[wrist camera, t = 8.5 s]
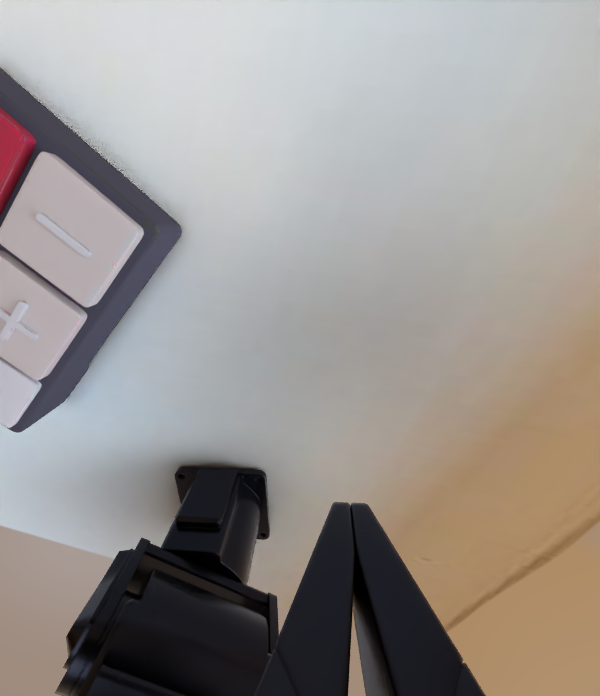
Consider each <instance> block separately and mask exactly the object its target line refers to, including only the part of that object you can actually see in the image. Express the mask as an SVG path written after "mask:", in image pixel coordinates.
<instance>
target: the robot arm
mask: <svg viewBox="0 0 600 696" xmlns="http://www.w3.org/2000/svg"><path fill="white" fill-rule="evenodd" d="M182 474H184V475H182ZM257 477H260V478H257ZM175 479H176V484H177V488H178V493H179V498H180V502H181V506H180V508H179V510H178V512H177V514H176V516H175V519H174V521H173V523H172V525H171V527H170V529H169V531H168V534H167V536H166V538H165V540H164V542H163V544H162V546H161V548H160V547H158V546H156V545H153V544H151V543H150V541H149V540H147V539H144V538H141V540H140V542H139V543H138V545H137V547H136V549H135V550H133V549H131V550H126V551H119V553H118V554H117V556H116V558H115V559H114V561H113V563H112V564H111V566H110V568H109V569H108V571H107V573H106V575H105V576H104V578H103V579H102V581H101V582H100V584H99V586H98V587H97V589H96V590H95V592H94V594H93V595H92V597H91V598H90V600H89V601H88V603H87V604H86V606H85V607H84V609H83V610H82V612H81V614H80V615H79V617H78V618H77V620H76V621H75V623H74V624H73V626H72V628H71V629H70V631H69V633H68V635H67V636H66V640H67V649H68V657H69V658H68V659H67V661H66V663H65V665H64V667H63V668H65V669H67V672H66V674H65V676H64V677H63V679H62V681H61V683H60V685H59V686H58V688H57V690H56V692H55V694H58V695H61V696H348V682H349V664H350V663H349V662H350V645H351V644H350V643H351V627H352V608H353V612H354V620H355V627H356V633H357V640H358V646H359V653H360V660H361V666H362V673H363V679H364V686H365V693H366V696H486V695H485V694H484V692H483V690H482V689H481V687H480V686H479V684H478V682H477V681H476V679H475V677H474V676H473V674H472V673H471V671H470V669H469V668H468V666H467V665H466V664H465V663H462V662H463V659H462V657H461V655H460V653H459V652H458V650H457V649H456V647H455V645H454V644H453V642H452V640H451V639H450V637H449V636H448V634H447V632H446V631H445V629H444V627H443V626H442V624H441V623H440V621H439V619H438V618H437V616H436V614H435V613H434V611H433V610H432V608H431V606H430V605H429V603H428V601H427V600H426V598H425V597H424V595H423V593H422V592H421V590H420V588H419V587H418V585H417V584H416V582H415V580H414V579H413V577H412V575H411V574H410V572H409V571H408V569H407V567H406V566H405V564H404V562H403V561H402V559H401V558H400V556H399V554H398V553H397V551H396V549H395V548H394V546H393V545H392V543H391V541H390V540H389V538H388V536H387V535H386V533H385V532H384V530H383V528H382V527H381V525H380V523H379V522H378V520H377V519H376V517H375V515H374V514H373V512H372V510H371V509H370V507H369V506H368V505H367V504H365V503H352V504H351V505H350V504H349V503H344V502H334V503H333V504H332V506H331V509H330V511H329V514H328V516H327V519H326V521H325V524H324V526H323V529H322V531H321V534H320V536H319V538H318V541H317V543H316V546H315V548H314V551H313V553H312V556H311V558H310V561H309V563H308V566H307V568H306V571H305V573H304V576H303V578H302V580H301V583H300V585H299V588H298V590H297V593H296V595H295V598H294V600H293V603H292V605H291V608H290V610H289V613H288V615H287V617H286V620H285V623H284V625H283V627H282V630H281V632H280V635H279V631H278V608H277V596H275V595H273V594H270V593H267V594H266V593H264V592H261V591H259V590H257V589H254V588H252V587H250V586H248V585H247V582H248V577H249V572H250V568H251V563H252V558H253V553H254V548H255V544H256V539H267V538H268V537H269V534H270V521H269V507H268V494H267V480H266V474H265V472H263V471H262V470H247V469H222V468H197V467H180V468H178V470H177V472H176V473H175Z"/></svg>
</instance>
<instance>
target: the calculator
mask: <svg viewBox="0 0 600 696" xmlns="http://www.w3.org/2000/svg"><path fill="white" fill-rule="evenodd" d="M180 235H181V227H180V225H179V224H178V223H177V222H176V221H175V220H174V219H173V218H171V217H170V216H169V215H168V214H167V213H166V212H165V211H163V210H162V209H161V208H160V207H159V206H158V205H156V204H155V203H154V202H153V201H152V200H151V199H150V198H148V197H147V196H146V195H145V194H144V193H143V192H142V191H140V190H139V189H138V188H137V187H136V186H135V185H134V184H132V183H131V182H130V181H129V180H128V179H127V178H126V177H124V176H123V175H122V174H121V173H120V172H119V171H118V170H116V169H115V168H114V167H113V166H112V165H111V164H109V163H108V162H107V161H106V160H105V159H104V158H103V157H101V156H100V155H99V154H98V153H97V152H96V151H95V150H93V149H92V148H91V147H90V146H89V145H88V144H87V143H85V142H84V141H83V140H82V139H81V138H80V137H79V136H77V135H76V134H75V133H74V132H73V131H72V130H71V129H69V128H68V127H67V126H66V125H65V124H64V123H62V122H61V121H60V120H59V119H58V118H57V117H56V116H54V115H53V114H52V113H51V112H50V111H49V110H48V109H46V108H45V107H44V106H43V105H42V104H41V103H40V102H38V101H37V100H36V99H35V98H34V97H33V96H32V95H30V94H29V93H28V92H27V91H26V90H25V89H24V88H22V87H21V86H20V85H19V84H18V83H17V82H15V81H14V80H13V79H12V78H11V77H10V76H9V75H7V74H6V73H5V72H4V71H3V70H2V69H1V68H0V424H1V425H3V426H5V427H7V428H8V429H10V430H12V431H14V432H22V431H24V430H25V429H26V428H28V427H29V426H31V425H32V424H34V423H35V422H36V421H38V420H39V419H41V418H42V417H43V416H45V415H46V414H48V413H49V412H50V411H52V410H53V409H55V408H56V407H57V406H59V405H60V404H61V403H63V402H64V401H65V399H66V398H67V397H68V395H69V394H70V393H71V391H72V390H73V389H74V387H75V386H76V384H77V383H78V382H79V380H80V379H81V378H82V376H83V375H84V373H85V372H86V371H87V369H88V365H89V362H90V361H91V359H92V358H93V356H94V355H95V354H96V352H97V351H98V349H99V348H100V347H101V345H102V344H103V343H104V341H105V340H106V338H107V337H108V336H109V334H110V333H111V331H112V330H113V329H114V327H115V326H116V325H117V323H118V322H119V320H120V319H121V318H122V316H123V315H124V313H125V312H126V311H127V309H128V308H129V307H130V305H131V304H132V302H133V301H134V300H135V298H136V297H137V295H138V294H139V293H140V291H141V290H142V289H143V287H144V286H145V284H146V283H147V282H148V280H149V279H150V277H151V276H152V275H153V273H154V272H155V271H156V269H157V268H158V266H159V265H160V264H161V262H162V261H163V259H164V258H165V257H166V255H167V254H168V253H169V251H170V250H171V248H172V247H173V246H174V244H175V243H176V241H177V240H178V239H179V237H180Z"/></svg>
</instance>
